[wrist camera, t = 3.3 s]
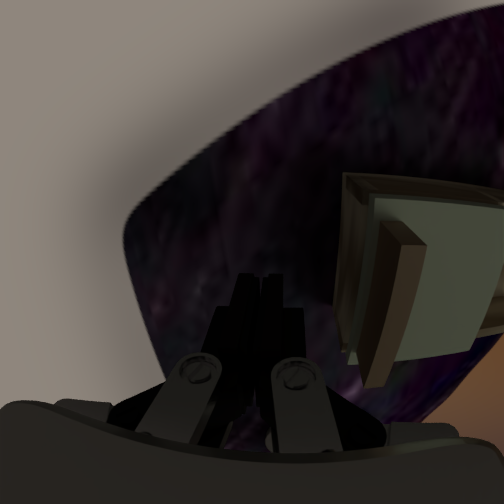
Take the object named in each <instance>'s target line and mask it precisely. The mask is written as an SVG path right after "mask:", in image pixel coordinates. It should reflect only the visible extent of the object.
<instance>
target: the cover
mask: <svg viewBox="0 0 504 504" xmlns="http://www.w3.org/2000/svg"><path fill="white" fill-rule="evenodd" d="M503 264H504V206H501V205H494V204H487V203H479V202H471V201H462V200H453V199H443V198H432V197H421V196H408V195H393V194H375V193H369V205H368V217H367V228H366V237H365V246H364V254H363V262H362V269H361V276H360V283H359V289H358V295H357V301H356V306H355V312H354V317H353V322H352V327H351V332H350V337H349V341H348V346H347V350H346V360H347V365H353V364H359V369H360V373H361V378H362V383H363V388H374V387H383V386H384V385H385V382H386V380H387V377H388V375H389V373H390V370H391V368H392V365H393V363H394V361H402V360H411V359H419V358H426V357H433V356H439V355H446V354H452V353H457V352H463V351H468V350H470V348H471V346H472V343H473V341H474V339H475V337H476V335H477V333H478V331H479V329H480V326H481V324H482V322H483V320H484V317H485V315H486V312H487V310H488V307H489V305H490V302H491V300H492V297H493V294H494V292H495V289H496V286H497V283H498V280H499V277H500V274H501V271H502V267H503Z"/></svg>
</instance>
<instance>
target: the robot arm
mask: <svg viewBox="0 0 504 504" xmlns="http://www.w3.org/2000/svg"><path fill="white" fill-rule="evenodd" d="M254 389H255V392H256V406H257V407H260V416H261V418H262V419H263V420H264V421H265V422H267V423H268V424H269V425H270V426H271V427H270V428H269V429H268V431H267V432H266V437H265V445H266V447H267V448H268V449H269V450H270V451H271V452H272V453H267V452H250V451H238V450H229V449H224V446H225V444H226V441H227V439H228V436H229V433H230V431H231V428H232V424H233V421H234V420H235V419H237V418H238V417H240V416H241V414H245V413H246V406H252V404H253V396H254ZM0 504H504V457H503V455H502V453H501V452H500V451H499V449H498V448H497V447H496V446H495V445H494V444H492V443H490V442H488V441H485V440H481V439H476V438H469V437H459V433H458V431H457V430H456V429H455V427H453V426H452V425H450V424H447V423H405V422H391V424H390V425H388V424H382V423H381V422H380V421H378V420H377V419H376V418H374V417H373V416H371V415H369V414H368V413H366V412H365V411H363V410H362V409H360V408H359V407H357V406H355V405H354V404H352V403H351V402H349V401H348V400H346V399H345V398H343V397H342V396H340V395H339V394H337V393H336V392H334V391H333V390H331V389H330V388H329V387H327V386H326V385H325V382H324V379H323V375H322V372H321V370H320V368H319V366H318V365H317V364H315V363H314V362H313V361H311V360H309V359H306V345H305V327H304V311H303V308H283V274H269V277H263V282H262V289H261V296H260V284H259V277H254V274H250V273H239V275H238V278H237V281H236V285H235V288H234V291H233V295H232V298H231V302H230V305H229V306H217V307H216V309H215V312H214V315H213V318H212V321H211V324H210V326H209V329H208V332H207V335H206V338H205V341H204V344H203V346H202V349H201V352H199V353H192V354H189V355H187V356H185V357H183V358H182V359H180V360H179V361H178V363H177V364H176V365H175V367H174V368H173V370H172V372H171V373H170V375H169V376H168V378H167V380H166V381H165V382H164V383H161V384H159V385H157V386H155V387H153V388H150V389H148V390H146V391H144V392H142V393H139V394H137V395H135V396H133V397H131V398H128V399H126V400H124V401H121V402H120V403H118V404H116V405H115V406H113V405H112V404H111V403H109V402H95V401H85V400H75V399H62V400H59V401H57V402H56V403H55V404H54V405H53V404H49V403H46V402H40V401H29V400H28V401H27V400H21V401H13V402H10V403H8V404H6V405H5V406H3V407H2V408H1V409H0Z"/></svg>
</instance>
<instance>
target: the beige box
mask: <svg viewBox="0 0 504 504" xmlns="http://www.w3.org/2000/svg"><path fill="white" fill-rule="evenodd" d="M369 193H375V194H393V195H408V196H421V197H432V198H443V199H453V200H462V201H471V202H479V203H487V204H494V205H501V206H504V190H501V189H496V188H490V187H484V186H478V185H472V184H466V183H459V182H451V181H444V180H436V179H427V178H418V177H407V176H396V175H383V174H368V173H349V172H343V174H342V202H341V220H340V235H339V248H338V259H337V270H336V279H335V288H334V297H333V305H332V307H333V312H334V317H335V322H336V327H337V332H338V338H339V343H340V349H341V352H346V350H347V346H348V341H349V337H350V332H351V327H352V322H353V317H354V312H355V306H356V301H357V295H358V289H359V283H360V276H361V269H362V262H363V254H364V246H365V237H366V228H367V217H368V205H369ZM502 332H504V264H503V267H502V271H501V274H500V277H499V280H498V283H497V286H496V289H495V292H494V294H493V297H492V300H491V302H490V305H489V307H488V310H487V312H486V315H485V317H484V320H483V322H482V324H481V326H480V329H479V331H478V333H477V335H476V337H475V338H478V337H483V336H488V335H493V334H497V333H502Z"/></svg>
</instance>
